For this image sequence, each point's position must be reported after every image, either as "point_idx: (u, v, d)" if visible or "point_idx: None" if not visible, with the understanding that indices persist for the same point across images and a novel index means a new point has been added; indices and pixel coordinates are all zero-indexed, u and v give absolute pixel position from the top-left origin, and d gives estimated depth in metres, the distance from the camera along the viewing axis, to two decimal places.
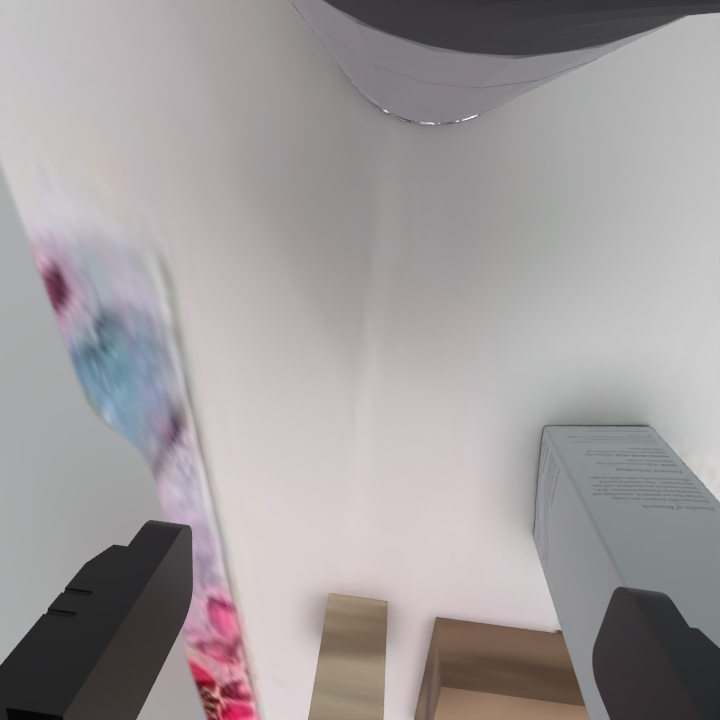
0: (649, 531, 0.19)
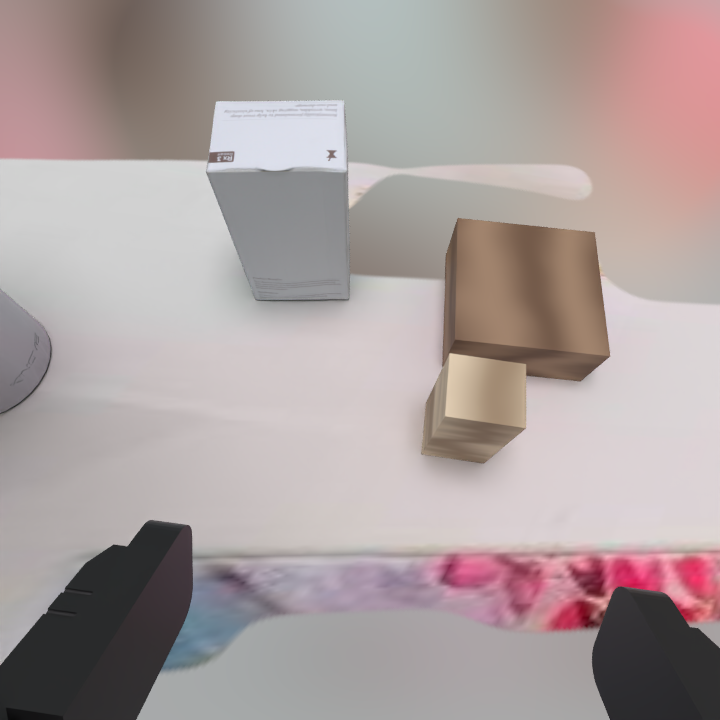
0: None
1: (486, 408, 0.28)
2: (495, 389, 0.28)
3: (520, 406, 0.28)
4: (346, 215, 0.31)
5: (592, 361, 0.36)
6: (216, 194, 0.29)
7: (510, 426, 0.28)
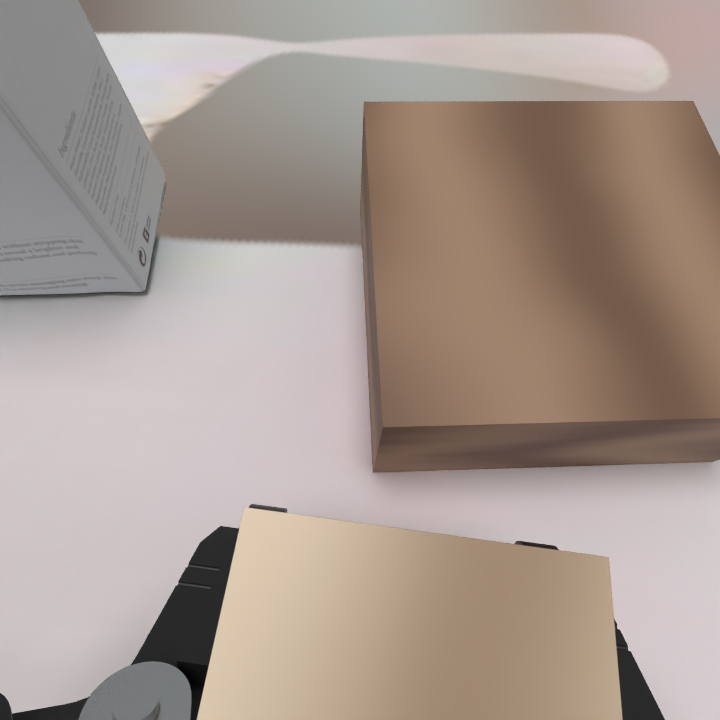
0: None
1: None
2: None
3: None
4: None
5: None
6: None
7: None
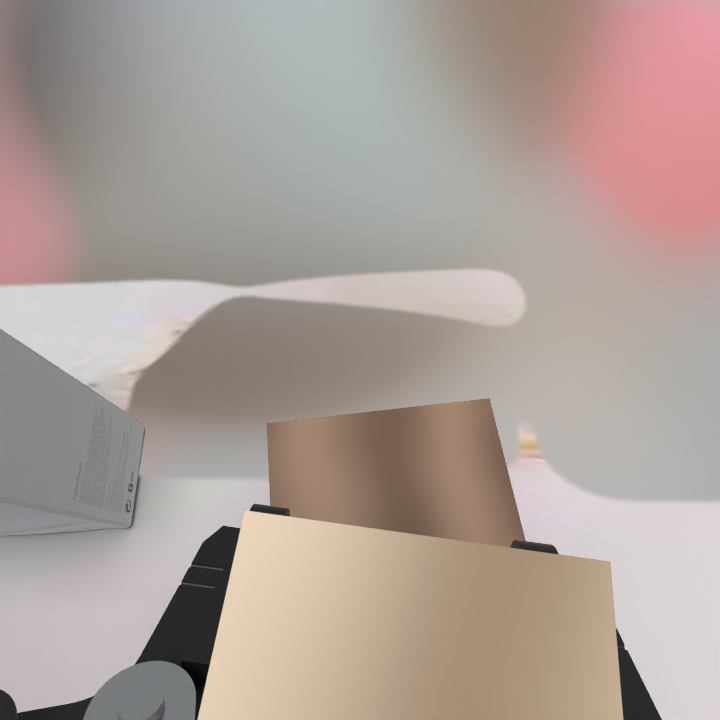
0: None
1: None
2: None
3: None
4: None
5: None
6: None
7: None
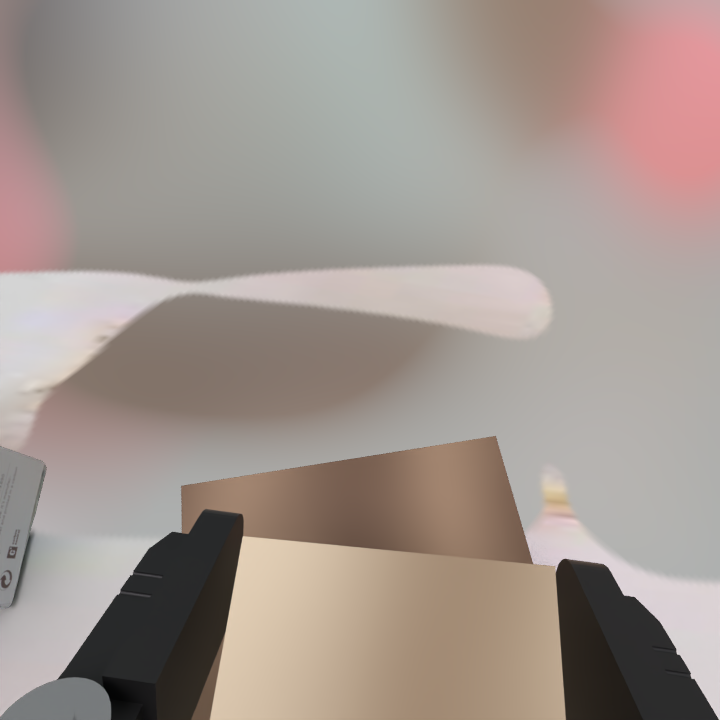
0: None
1: None
2: (429, 711, 0.06)
3: None
4: None
5: None
6: None
7: None
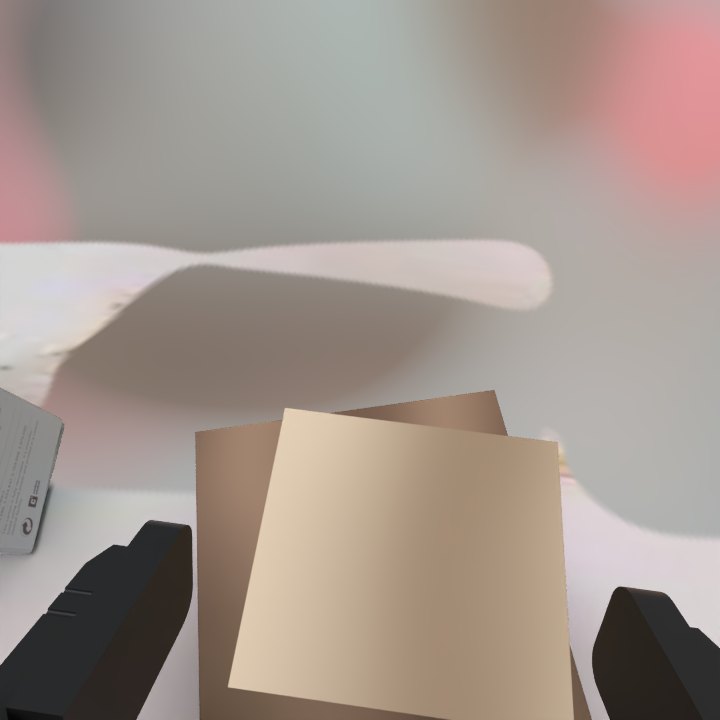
0: None
1: (405, 639, 0.07)
2: (446, 550, 0.07)
3: (545, 623, 0.07)
4: None
5: None
6: None
7: None
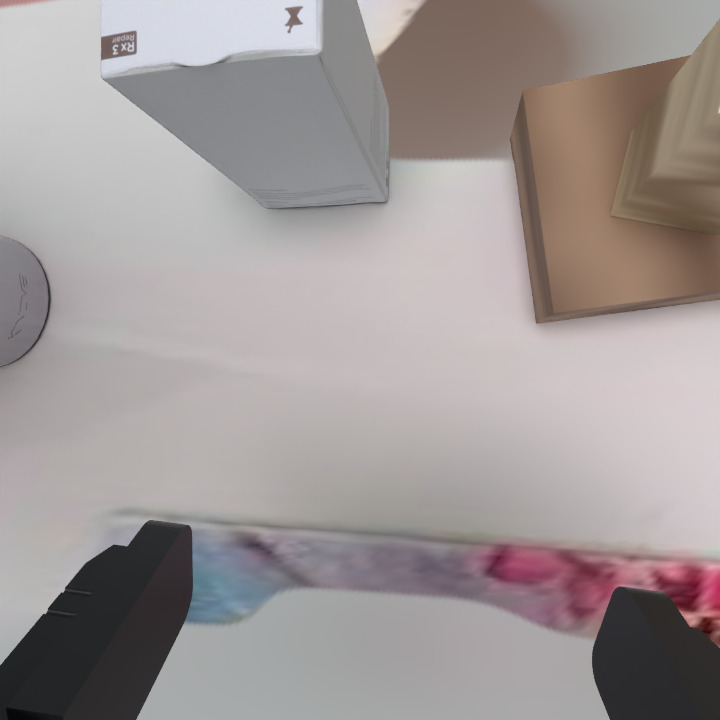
0: None
1: None
2: None
3: None
4: (347, 112, 0.19)
5: None
6: (137, 105, 0.19)
7: None
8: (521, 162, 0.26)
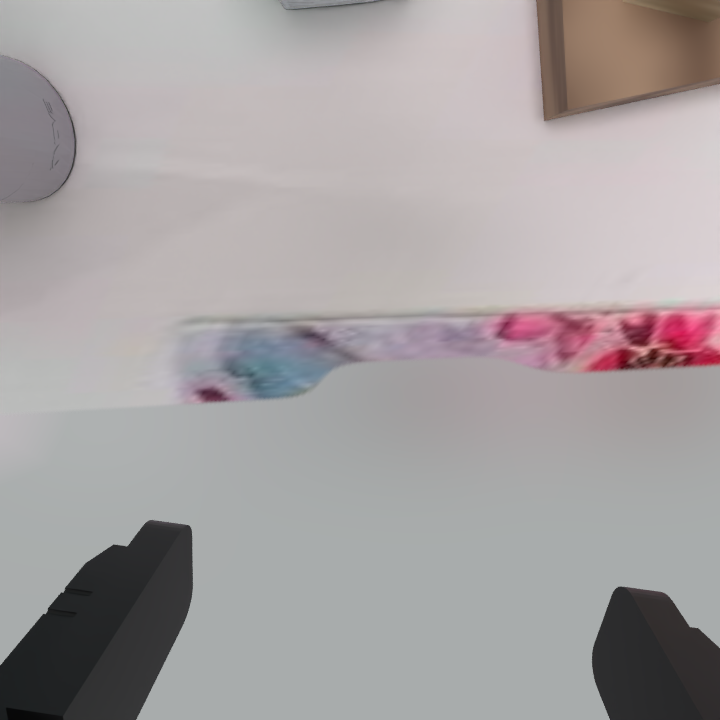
0: None
1: None
2: None
3: None
4: None
5: None
6: None
7: None
8: None
